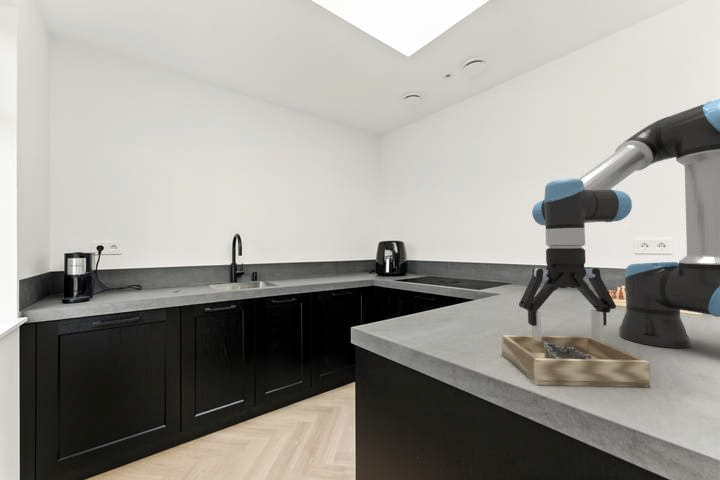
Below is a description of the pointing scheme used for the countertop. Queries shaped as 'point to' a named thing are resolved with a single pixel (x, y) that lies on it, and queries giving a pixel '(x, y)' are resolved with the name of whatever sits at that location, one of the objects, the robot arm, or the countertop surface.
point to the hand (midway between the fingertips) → (567, 339)
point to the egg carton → (563, 352)
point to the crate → (576, 362)
